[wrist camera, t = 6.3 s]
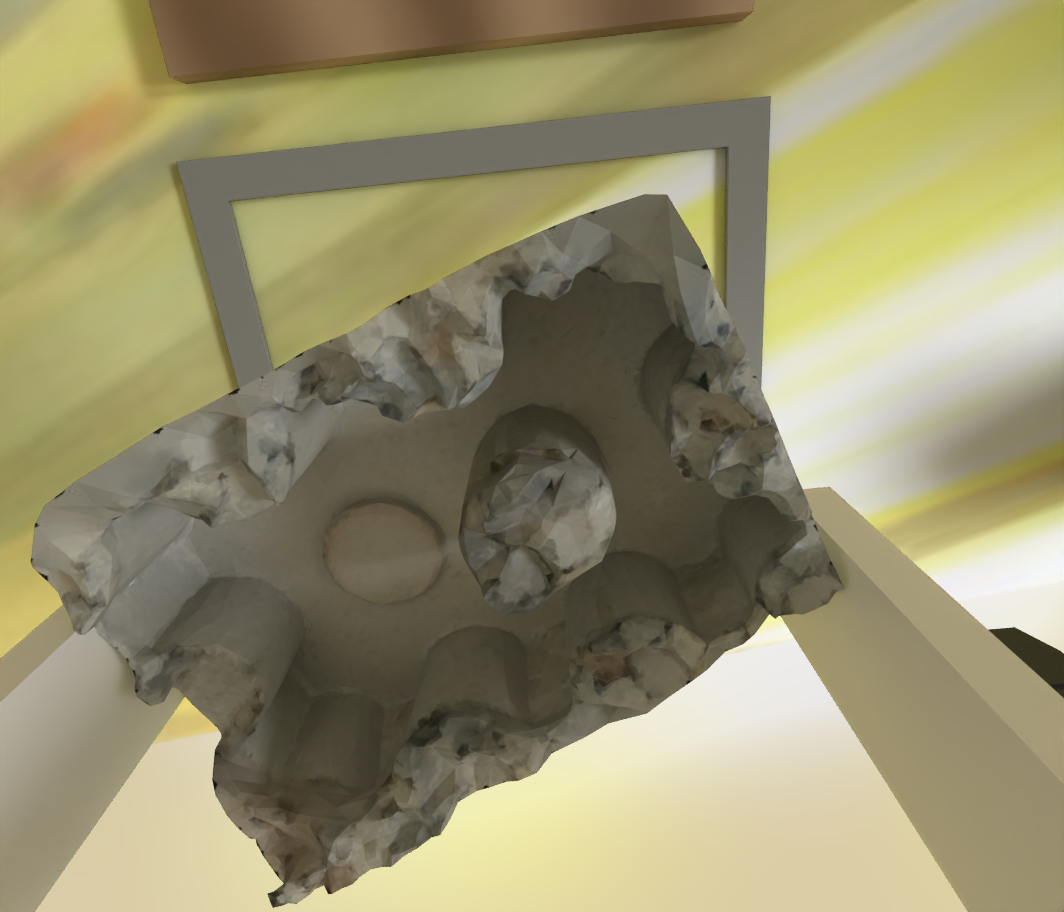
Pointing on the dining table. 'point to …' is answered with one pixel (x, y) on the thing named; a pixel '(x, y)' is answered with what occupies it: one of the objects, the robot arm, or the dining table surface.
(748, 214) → the mat border
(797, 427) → the dining table surface
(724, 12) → the walnut board
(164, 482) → the egg carton
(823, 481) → the dining table surface
